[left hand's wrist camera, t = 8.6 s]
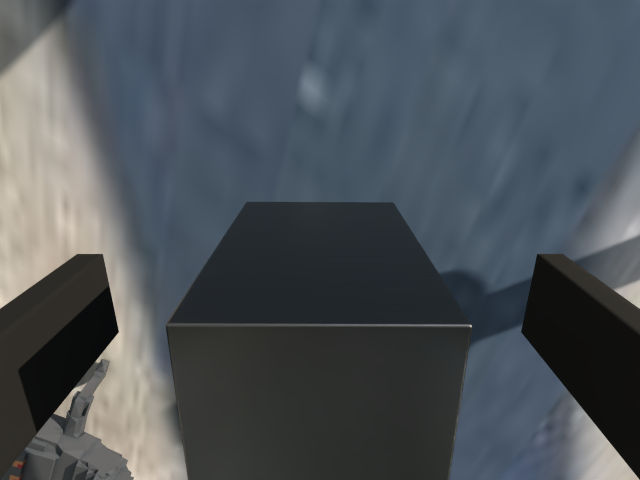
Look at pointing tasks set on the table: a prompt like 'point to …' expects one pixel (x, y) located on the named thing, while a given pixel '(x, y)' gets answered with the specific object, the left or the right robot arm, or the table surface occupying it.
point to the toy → (70, 446)
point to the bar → (318, 350)
